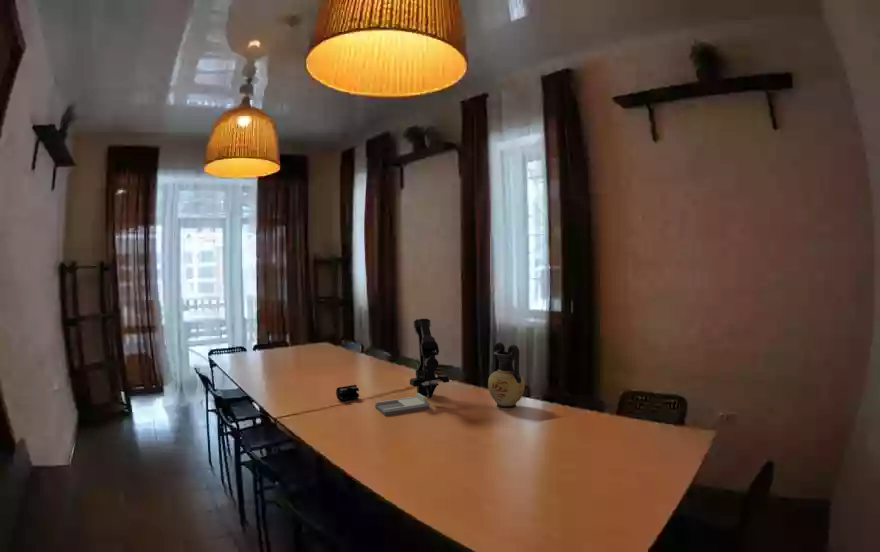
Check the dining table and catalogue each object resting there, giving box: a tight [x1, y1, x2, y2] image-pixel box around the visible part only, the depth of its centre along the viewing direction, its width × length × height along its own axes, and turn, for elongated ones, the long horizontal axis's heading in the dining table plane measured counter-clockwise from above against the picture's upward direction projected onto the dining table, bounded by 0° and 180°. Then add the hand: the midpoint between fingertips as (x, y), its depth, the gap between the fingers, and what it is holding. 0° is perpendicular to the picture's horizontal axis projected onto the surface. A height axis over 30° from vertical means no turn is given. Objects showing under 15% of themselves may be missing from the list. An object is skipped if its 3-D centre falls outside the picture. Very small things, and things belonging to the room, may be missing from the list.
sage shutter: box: [397, 392, 429, 406], centre depth 243 cm, size 11×11×3 cm
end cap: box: [335, 384, 360, 403], centre depth 258 cm, size 10×7×7 cm
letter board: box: [374, 396, 430, 416], centre depth 241 cm, size 22×14×3 cm, turn 114°
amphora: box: [487, 342, 526, 411], centre depth 238 cm, size 18×17×30 cm
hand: (429, 398), depth 246 cm, fingers closed
